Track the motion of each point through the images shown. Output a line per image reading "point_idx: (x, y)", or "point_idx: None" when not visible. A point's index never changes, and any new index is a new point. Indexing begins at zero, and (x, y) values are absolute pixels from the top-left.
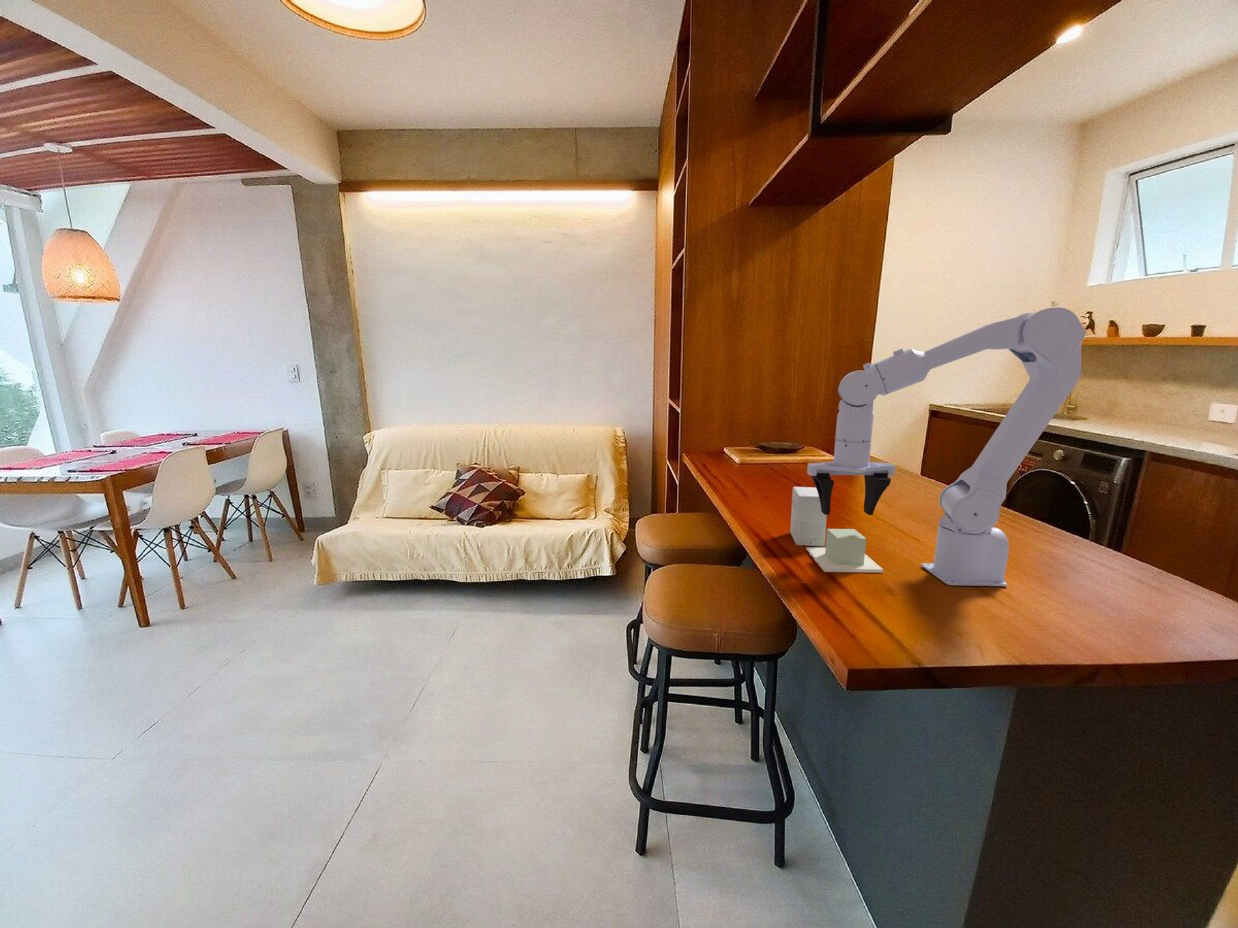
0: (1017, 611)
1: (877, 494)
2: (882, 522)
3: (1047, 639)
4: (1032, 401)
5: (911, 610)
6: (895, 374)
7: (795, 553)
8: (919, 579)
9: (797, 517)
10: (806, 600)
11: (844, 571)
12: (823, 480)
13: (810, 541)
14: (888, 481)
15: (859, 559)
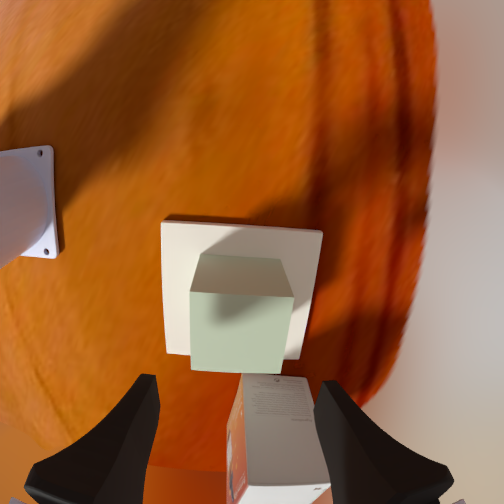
0: (15, 53)
1: (107, 438)
2: None
3: None
4: None
5: (212, 18)
6: None
7: (332, 337)
8: (93, 180)
9: None
10: (424, 92)
11: (267, 227)
12: (449, 481)
13: (277, 382)
14: (37, 477)
15: (212, 260)
